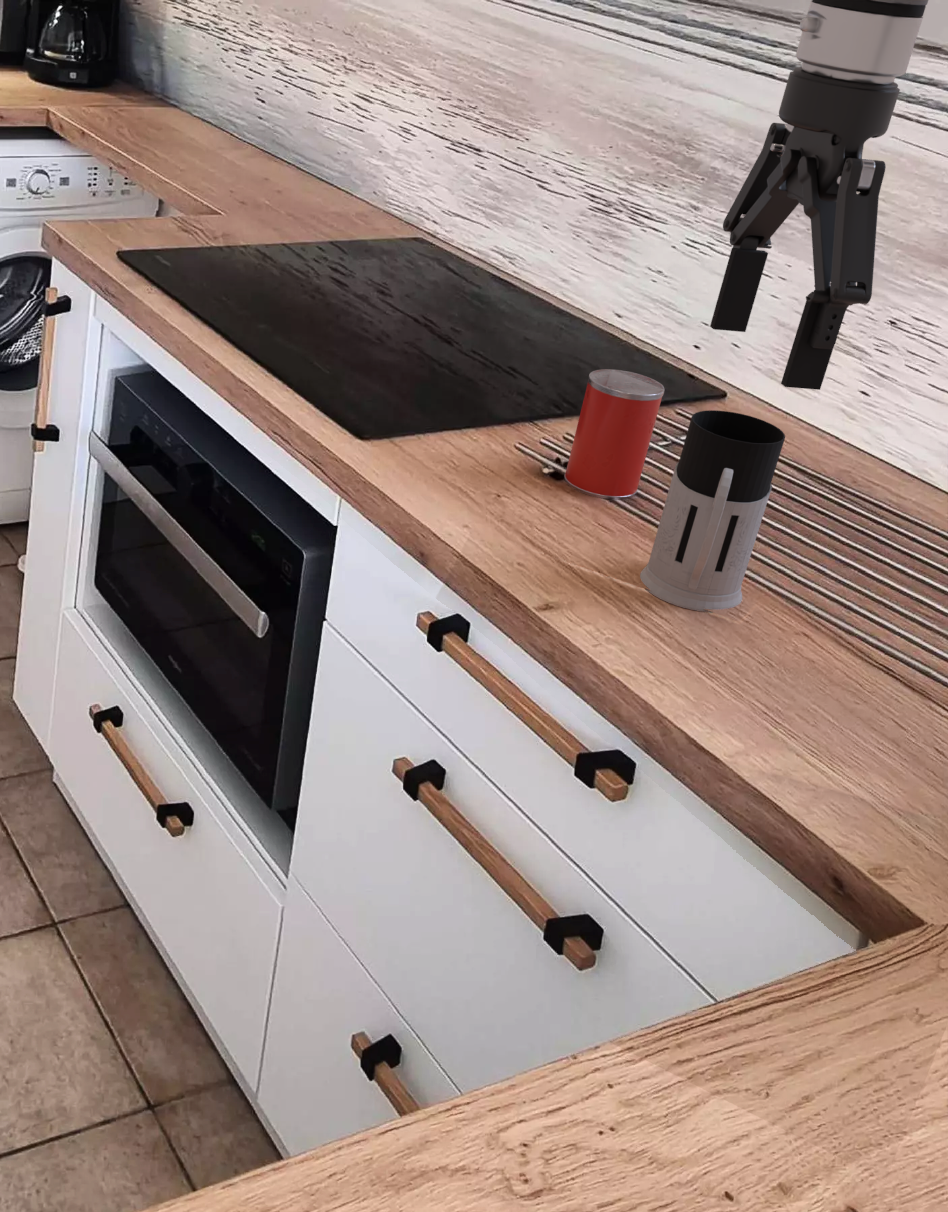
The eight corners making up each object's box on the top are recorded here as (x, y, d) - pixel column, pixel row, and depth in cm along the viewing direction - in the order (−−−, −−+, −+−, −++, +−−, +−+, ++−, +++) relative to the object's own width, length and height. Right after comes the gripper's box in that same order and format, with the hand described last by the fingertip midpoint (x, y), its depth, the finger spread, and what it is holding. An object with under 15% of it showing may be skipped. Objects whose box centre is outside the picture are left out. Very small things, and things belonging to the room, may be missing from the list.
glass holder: (744, 582, 140) (794, 422, 133) (736, 648, 128) (790, 477, 121) (644, 557, 142) (687, 399, 136) (626, 620, 130) (673, 451, 124)
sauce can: (646, 489, 158) (674, 384, 153) (620, 508, 152) (649, 400, 147) (579, 467, 161) (605, 364, 156) (552, 485, 156) (577, 379, 151)
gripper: (727, 40, 124) (658, 304, 134) (881, 99, 102) (785, 410, 112) (818, 50, 125) (743, 312, 134) (990, 110, 103) (885, 418, 112)
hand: (762, 357), depth 123 cm, fingers open, 13 cm apart
